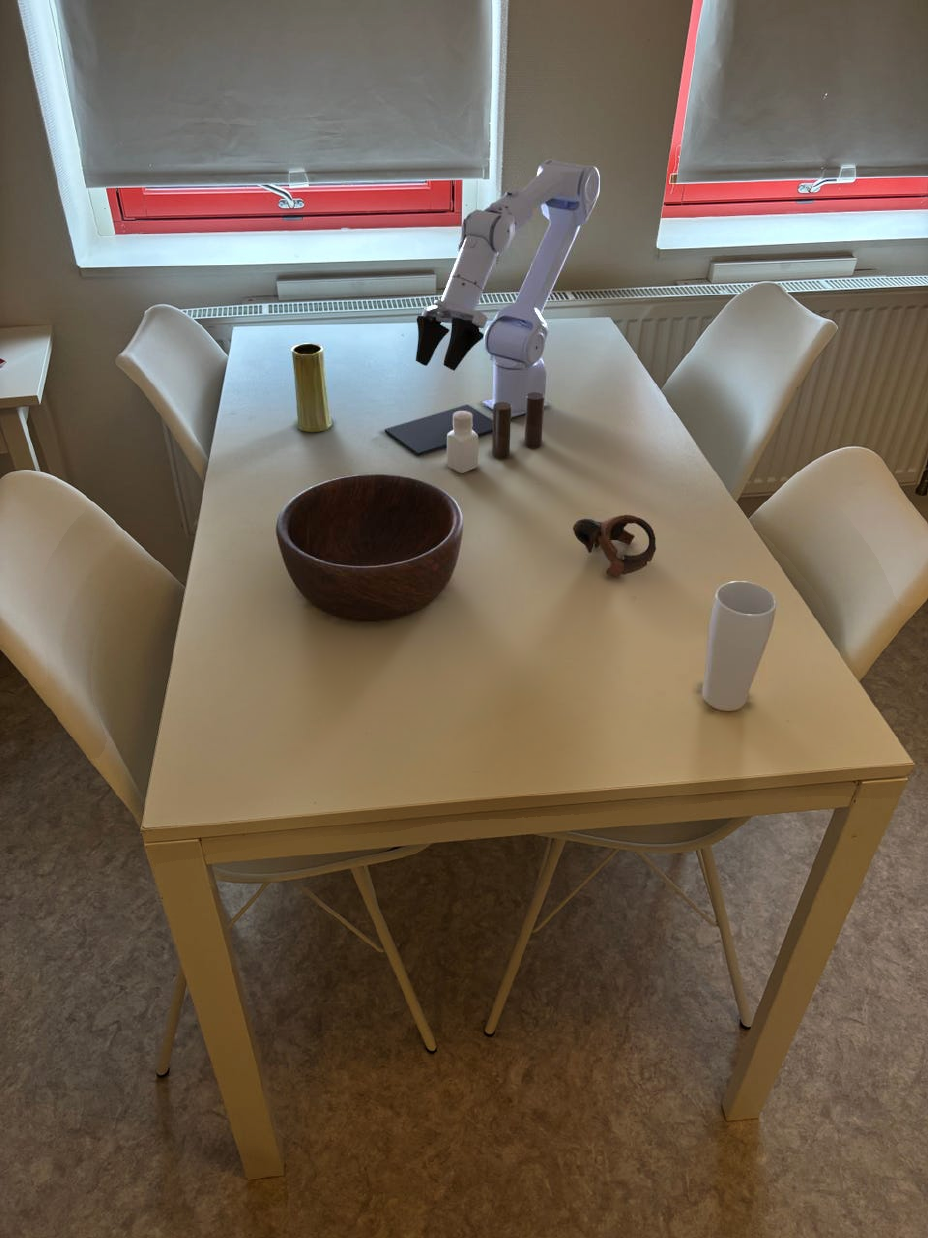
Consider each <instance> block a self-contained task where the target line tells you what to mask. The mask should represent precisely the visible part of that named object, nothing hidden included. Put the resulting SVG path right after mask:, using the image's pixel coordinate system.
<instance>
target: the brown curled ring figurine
mask: <svg viewBox="0 0 928 1238" xmlns="http://www.w3.org/2000/svg"><path fill="white" fill-rule="evenodd" d="M628 524H631V525H632V524H635V525H637V526H639V527H641V529H642V530H644V532H645V533H646V535H647V538H648V545H647V548H646V549H645V550H644V551H643V552H641V553H639V554H635V555H631V554H624V557H623V558H621V557H619V556H618V555H617V553H618V551H619V550H618V549H617V548H616V547H615V545H614V544H613V541H617V542H620V543H623V544H625V545H627V546H630V545H631V544H632V542H633V540H634V539H635V538H636V536H635V534H633V533H631V532H629V531H628V530H626V529H625V528H626V527H627V526H628ZM572 530H573V533H574V536H575V537H576V538H577V540H578V541H579V542H580V543H581V544H583V545H584V547H585V548H586V550H587V552H588V553H589V554H592V552H593V549H598V548H599V547H600V549H601V550H602V552H603V554H604V556H605V557H606V558H607V560H608V561H609V562H610V565H609V567H608V568H607V569H606V575H609V576H610V577H612V578H614V579H617V578H618V577H621V575H628V574H632V573H634V572H637V571H639V570H642V569H643V568H645V567H647V566H648V562H651V561H652V559H653V557H654V555H655V552H656V551H657V545H656V536H655V532H654V529H653V528H652V526H651V525H650V524H649V523H648V522H647V521H646V520H645V519H643V518H641V517H637V516H635V515H632V514H624V515H623V514H622V515H618V516H613V517H609V518H608V519H607V520H606V519H605V520H604V521H597V520H594V519H592V518H580V519H579V520H577V521H576V522H575V523H574V524H573V527H572Z"/></svg>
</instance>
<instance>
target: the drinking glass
mask: <svg viewBox="0 0 928 1238" xmlns="http://www.w3.org/2000/svg"><path fill="white" fill-rule="evenodd" d="M777 604H778V601H777V598H776V596H775V595H774V594H773V592H772V591H771V590H769V589H768V588H766V587H765V586H762V585H760V584H758V583H755V582H750V581H745V580H734V581H729V582H726V583H724V584H722V585H720V586H719V587H718V588H717V590H716V592H715V595H714V599H713V601H712V607H711V611H710V617H709V623H708V630H707V631H708V633H707V644H706V656H705V663H704V675H703V681H702V687H701V695H702V698H703V701H705V703H706V704H707V705H709V706H710V707H712V708H713V709H715V710H717V711H718V710H719V711H722V712H733V711H737V710H740V709H741V708H742V707H744V706H745V705H746V704H747V701H748V699H749V693H750V690H751V688H752V684H753V681H754V679H755V677H756V673H757V671H758V668H759V666H760V663H761V660H762V657H763V655H764V651H765V649H766V646H767V643H768V641H769V638H770V635H771V632H772V628H773V624H774V620H775V616H776V610H777Z"/></svg>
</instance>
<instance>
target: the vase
mask: <svg viewBox="0 0 928 1238" xmlns="http://www.w3.org/2000/svg"><path fill="white" fill-rule="evenodd" d="M323 349H324V348H323V347H322V346H321V345H320V344H317V343H310V342H309V343H307V342H306V343H301V344H297V345H295V346H293V347H292V348H291V356H292V364H293V366H292V367H293V376H294V377H293V378H294V390H295V401H296V402H295V403H296V417H297V425H296V426H297V428H298V429H299V430H300V431H303V432H306V433H320V432H323V431H326V430H328V429H329V428H330V427H331V426H332V419H331V414H330V407H329V400H328V399H329V398H328V394H327V393H328V392H327V382H326V371H325V370H326V368H325V357H324V350H323Z"/></svg>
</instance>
